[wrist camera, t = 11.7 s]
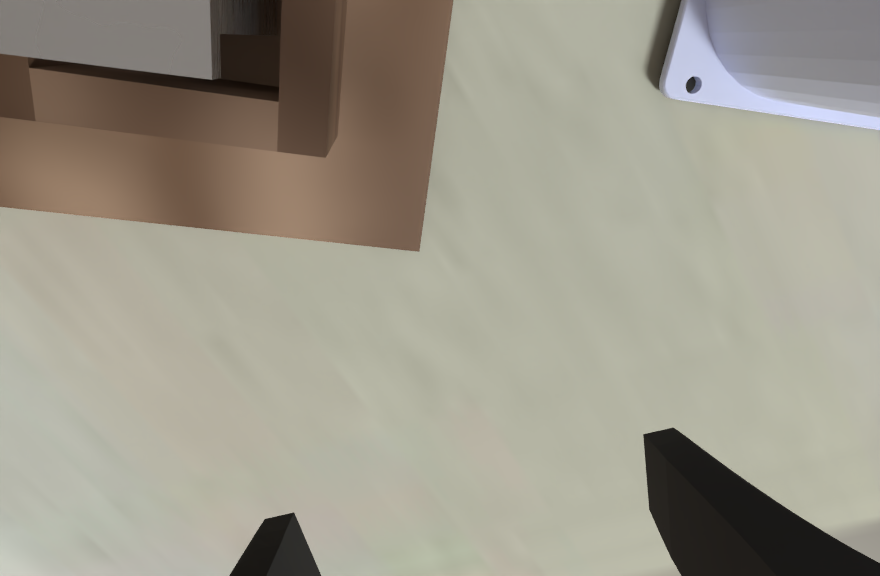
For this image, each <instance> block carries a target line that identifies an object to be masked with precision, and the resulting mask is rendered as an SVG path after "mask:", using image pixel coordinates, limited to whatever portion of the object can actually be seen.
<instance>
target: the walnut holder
mask: <svg viewBox="0 0 880 576" xmlns="http://www.w3.org/2000/svg"><path fill="white" fill-rule="evenodd" d="M452 6H453V0H277V36H269V35H239V34H220V63H221V78H218V79H213V80H210V79H202V78H194V77H185V76H177V75H169V74H161V73H153V72H145V71H137V70H129V69H121V68H113V67H104V66H96V65H88V64H80V63H72V62H64V61H56V60H48V59H40V58H32V57H23V56H15V55H7V54H0V207H8V208H18V209H27V210H36V211H46V212H55V213H64V214H74V215H83V216H92V217H102V218H111V219H120V220H130V221H139V222H148V223H158V224H167V225H176V226H186V227H195V228H204V229H214V230H223V231H232V232H242V233H251V234H260V235H270V236H279V237H288V238H298V239H307V240H316V241H326V242H335V243H344V244H354V245H363V246H372V247H382V248H391V249H400V250H410V251H419V249H420V242H421V235H422V227H423V220H424V213H425V205H426V198H427V190H428V183H429V176H430V168H431V161H432V153H433V146H434V139H435V131H436V124H437V117H438V109H439V102H440V94H441V87H442V80H443V72H444V65H445V57H446V50H447V43H448V35H449V28H450V21H451V13H452Z"/></svg>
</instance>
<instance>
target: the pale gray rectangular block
mask: <svg viewBox="0 0 880 576" xmlns="http://www.w3.org/2000/svg"><path fill="white" fill-rule="evenodd" d="M220 34H239V35H269V36H277V0H0V54H7V55H15V56H23V57H32V58H40V59H48V60H56V61H64V62H72V63H80V64H88V65H96V66H104V67H113V68H121V69H129V70H137V71H145V72H153V73H161V74H169V75H177V76H185V77H194V78H202V79H210V80H213V79H218V78H221V63H220Z"/></svg>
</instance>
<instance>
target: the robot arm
mask: <svg viewBox="0 0 880 576" xmlns="http://www.w3.org/2000/svg"><path fill="white" fill-rule="evenodd" d="M691 77H694V78H695V80H696V85H695V87H694V89H693V90H692V91H690V92H687V90H686V83H687V81H688V79H690V78H691ZM659 88H660V91H661V93H662V94H663V95H664V96H665V97H668V98H671V99H677V100H684V101H690V102H697V103H703V104H710V105H717V106H723V107H730V108H737V109H743V110H750V111H756V112H763V113H770V114H776V115H783V116H790V117H796V118H803V119H810V120H816V121H823V122H829V123H836V124H843V125H849V126H856V127H863V128H869V129H876V130H880V0H681V4H680V8H679V11H678V15H677V19H676V22H675V26H674V29H673V33H672V37H671V40H670V44H669V48H668V51H667V55H666V58H665V62H664V66H663V69H662V73H661V77H660V81H659ZM643 435H644V448H645V460H646V473H647V485H648V498H649V510H650V512H651V514H652V516H653V519H654V521H655V523H656V525H657V528H658V530H659V532H660V535H661V537H662V539H663V541H664V543H665V545H666V547H667V550H668V552H669V554H670V556H671V558H672V560H673V562H674V563H675V565H676V567H677V569H678V570H679V572H680V574H681V576H880V563H878V562H876V561H875V560H873V559H871V558H869V557H867V556H865V555H863V554H861V553H860V552H858V551H856V550H854V549H852V548H851V547H849V546H847V545H845V544H844V543H842V542H840V541H839V540H837V539H835V538H833V537H832V536H830V535H828V534H827V533H825V532H823V531H822V530H820V529H819V528H817V527H815V526H814V525H812V524H811V523H809V522H807V521H806V520H804V519H803V518H801V517H799V516H798V515H796V514H795V513H793V512H792V511H790V510H788V509H787V508H785V507H784V506H782V505H781V504H779V503H778V502H776V501H775V500H773V499H772V498H770V497H769V496H768V495H766V494H765V493H763V492H762V491H760V490H759V489H757V488H756V487H754V486H753V485H751V484H750V483H748V482H747V481H746V480H744V479H743V478H741V477H740V476H739V475H737V474H736V473H734V472H733V471H732V470H730V469H729V468H727V467H726V466H725V465H723V464H722V463H721V462H719V461H718V460H717V459H715V458H714V457H712V456H711V455H710V454H708V453H707V452H706V451H704V450H703V449H702V448H700V447H699V446H698V445H696V444H695V443H694V442H692V441H691V440H690V439H688V438H687V437H686V436H685V435H683V434H682V433H680V432H679V431H678V430H676V429H675V428H670V429H665V430H661V431H656V432H652V433H648V434H643ZM230 576H321V574H320V572H319V570H318V567H317V565H316V563H315V560H314V558H313V556H312V553H311V551H310V549H309V546H308V544H307V542H306V539H305V537H304V535H303V532H302V530H301V528H300V525H299V523H298V521H297V518H296V516H295V514H294V513H290V514H286V515H281V516H277V517H272V518H268V519H265V520H264V521H263V523H262V524H261V526H260V527H259V529H258V531H257V532H256V534H255V535H254V537H253V538H252V540H251V542H250V543H249V545H248V546H247V548H246V550H245V551H244V553H243V555H242V556H241V558H240V559H239V561H238V563H237V564H236V566H235V568H234V569H233V571H232V572H231V574H230Z"/></svg>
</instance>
